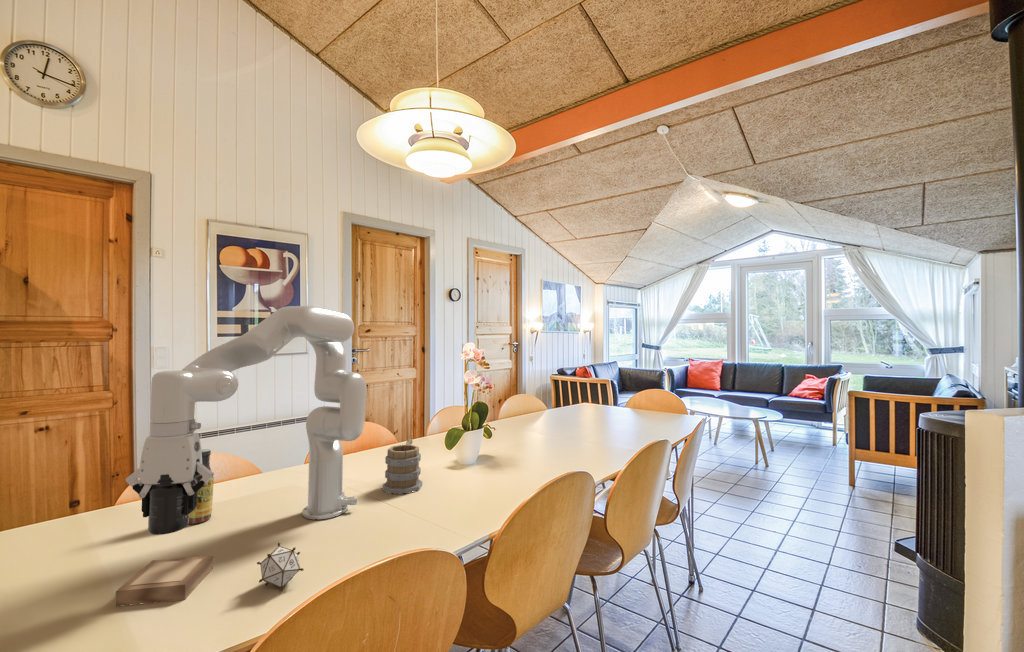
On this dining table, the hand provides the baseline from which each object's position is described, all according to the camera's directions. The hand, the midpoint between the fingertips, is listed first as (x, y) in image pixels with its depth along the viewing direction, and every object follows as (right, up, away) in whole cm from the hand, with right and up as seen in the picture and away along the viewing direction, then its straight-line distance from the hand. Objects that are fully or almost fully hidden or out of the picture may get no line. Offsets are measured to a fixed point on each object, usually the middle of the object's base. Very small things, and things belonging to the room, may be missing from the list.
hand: (169, 512), depth 93 cm
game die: (+23, -16, 0) cm, 28 cm away
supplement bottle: (0, -3, 0) cm, 3 cm away
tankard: (+34, -18, +65) cm, 76 cm away
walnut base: (0, -15, 0) cm, 15 cm away
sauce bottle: (-17, -16, +33) cm, 41 cm away
